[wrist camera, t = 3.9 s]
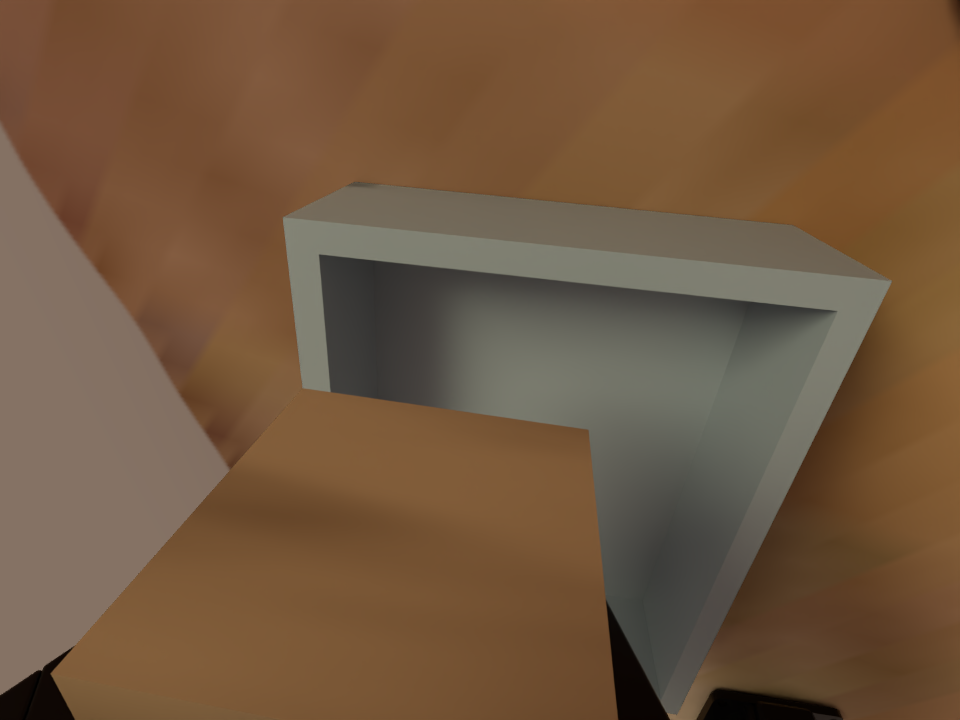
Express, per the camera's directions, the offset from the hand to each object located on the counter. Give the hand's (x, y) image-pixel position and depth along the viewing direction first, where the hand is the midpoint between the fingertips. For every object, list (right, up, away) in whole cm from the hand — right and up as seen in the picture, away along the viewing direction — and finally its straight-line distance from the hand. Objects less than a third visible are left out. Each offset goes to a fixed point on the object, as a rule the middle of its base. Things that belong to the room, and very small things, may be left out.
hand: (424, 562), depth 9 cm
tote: (+3, +1, +11) cm, 11 cm away
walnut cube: (0, 0, +1) cm, 1 cm away
